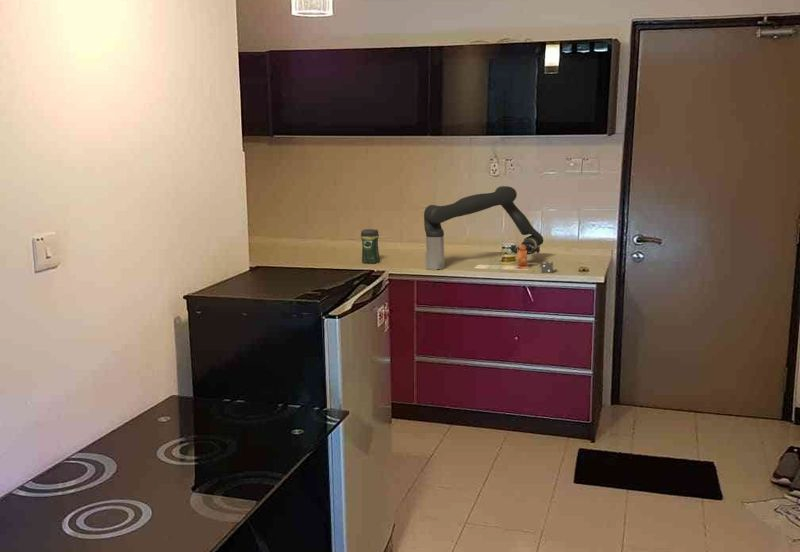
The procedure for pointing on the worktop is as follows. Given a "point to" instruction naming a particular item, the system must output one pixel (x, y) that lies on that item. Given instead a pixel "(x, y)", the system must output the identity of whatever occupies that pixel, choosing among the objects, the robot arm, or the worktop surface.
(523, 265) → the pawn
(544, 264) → the die
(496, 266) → the board
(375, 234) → the coffee jar
